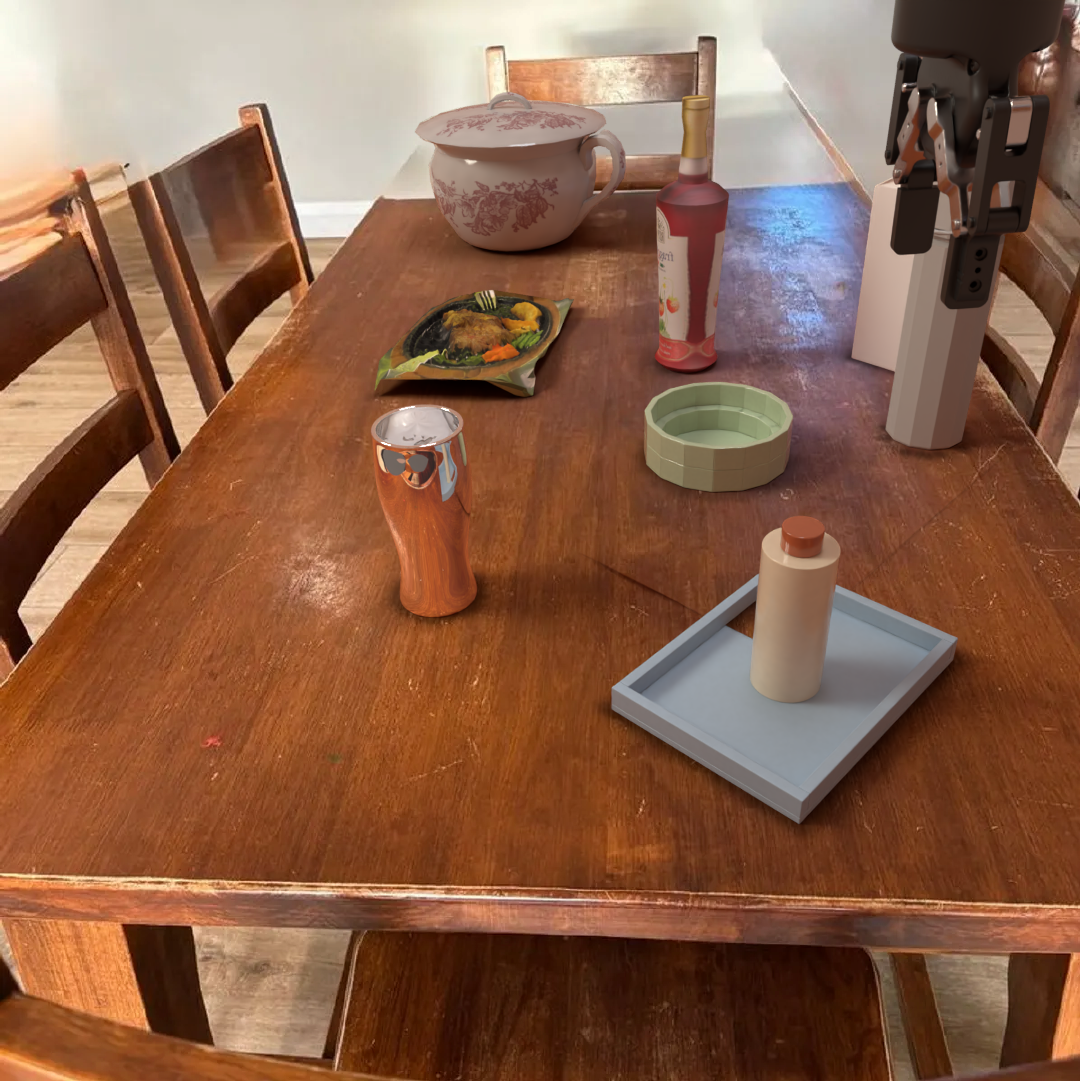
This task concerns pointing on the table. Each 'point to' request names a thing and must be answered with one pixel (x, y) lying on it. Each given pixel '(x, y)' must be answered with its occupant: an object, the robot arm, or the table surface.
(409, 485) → the beer glass
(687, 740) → the tray
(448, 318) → the prepared meal
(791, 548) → the bottle
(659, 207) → the liquor
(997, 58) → the robot arm
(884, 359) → the milk
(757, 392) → the bowl
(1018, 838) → the table surface
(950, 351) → the water bottle
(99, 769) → the table surface
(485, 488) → the table surface
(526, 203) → the chamber pot
